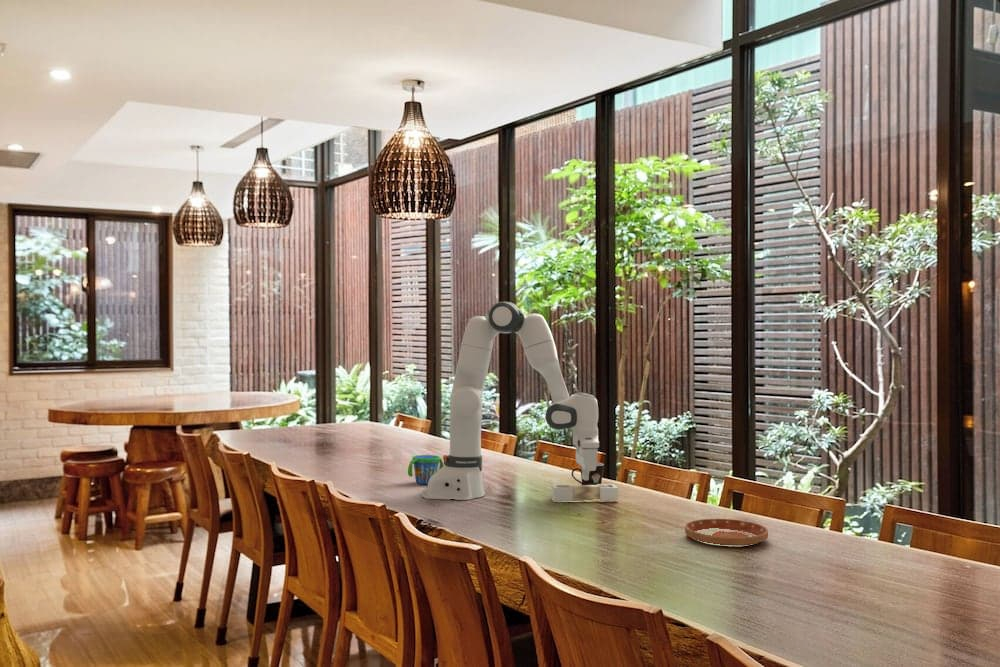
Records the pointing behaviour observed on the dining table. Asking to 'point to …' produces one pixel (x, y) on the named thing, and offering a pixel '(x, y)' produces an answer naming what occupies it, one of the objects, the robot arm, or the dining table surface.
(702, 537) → the saucer
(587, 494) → the slat
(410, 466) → the snack cup
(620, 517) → the dining table surface
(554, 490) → the endcaps
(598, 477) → the coffee mug
